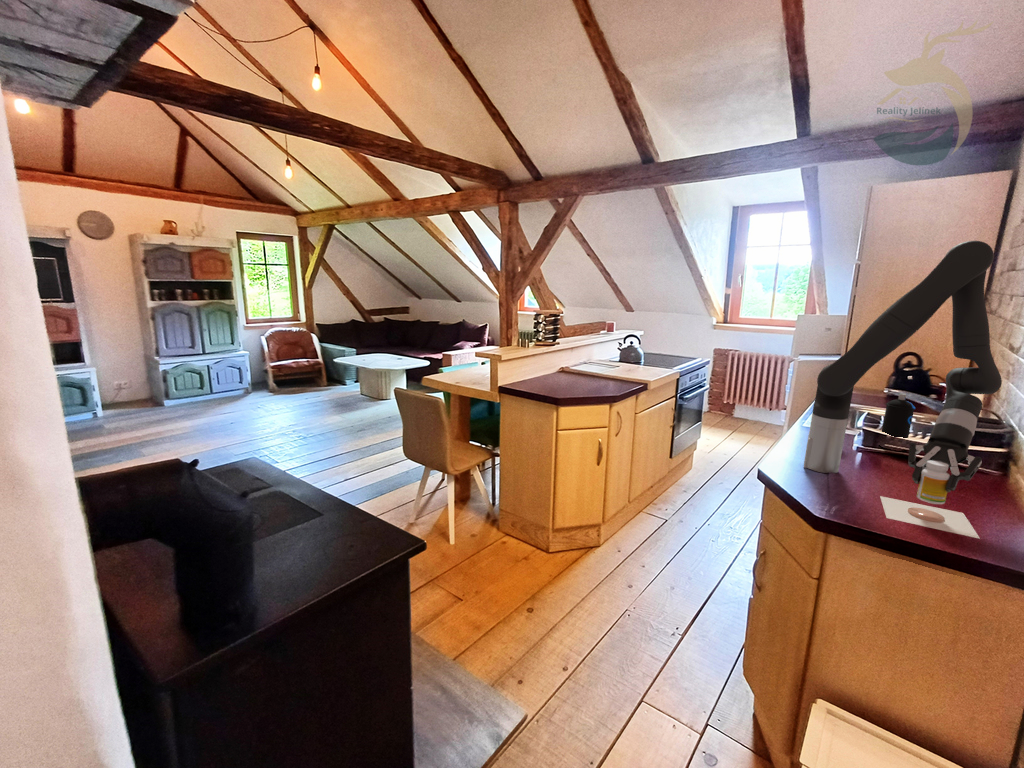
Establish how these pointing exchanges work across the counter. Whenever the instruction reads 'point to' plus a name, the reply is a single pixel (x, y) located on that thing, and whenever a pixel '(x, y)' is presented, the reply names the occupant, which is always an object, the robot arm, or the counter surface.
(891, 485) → the counter surface
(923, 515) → the coaster
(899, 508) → the mat
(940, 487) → the supplement bottle
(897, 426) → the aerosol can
